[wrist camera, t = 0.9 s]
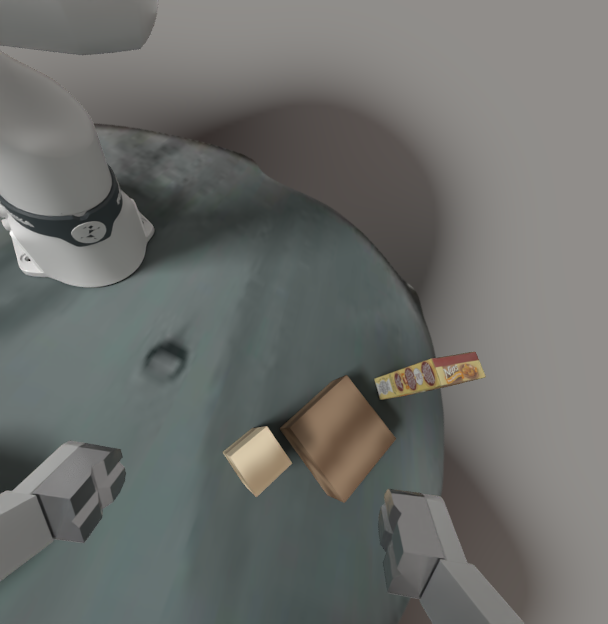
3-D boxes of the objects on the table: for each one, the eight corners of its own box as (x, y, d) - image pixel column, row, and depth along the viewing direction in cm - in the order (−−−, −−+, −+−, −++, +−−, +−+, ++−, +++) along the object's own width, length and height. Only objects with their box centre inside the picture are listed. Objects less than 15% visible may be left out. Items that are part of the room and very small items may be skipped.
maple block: (222, 452, 40) (230, 456, 31) (251, 428, 43) (266, 426, 33) (242, 482, 40) (256, 497, 30) (271, 457, 42) (292, 463, 33)
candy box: (379, 401, 51) (442, 388, 38) (372, 377, 53) (431, 357, 39) (417, 392, 55) (487, 378, 41) (410, 370, 56) (476, 350, 43)
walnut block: (279, 428, 44) (289, 427, 39) (331, 381, 50) (346, 375, 45) (326, 494, 43) (344, 502, 38) (375, 438, 49) (396, 438, 44)
